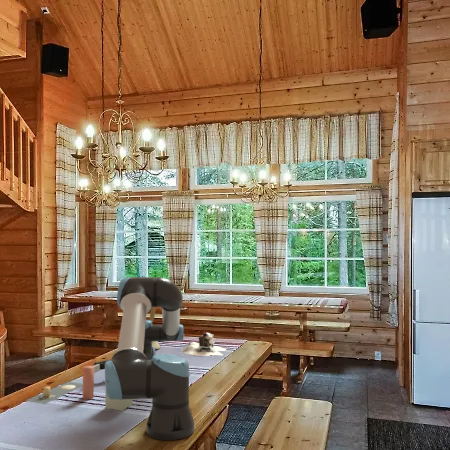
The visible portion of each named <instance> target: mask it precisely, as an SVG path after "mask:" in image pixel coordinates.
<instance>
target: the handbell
mask: <svg viewBox="0 0 450 450" xmlns="http://www.w3.org/2000/svg"><path fill="white" fill-rule="evenodd" d="M156 309H157V307H151V309H150V312H149V320H150V321H152V323H153V322H154V319H155V317H156V315H155V314H156ZM158 342H159V341H152V346H153V347H154V349H155V350H159V349H160V348H161V346H160V344H159V343H158Z"/></svg>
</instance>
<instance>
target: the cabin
mask: <svg viewBox="0 0 450 450" xmlns="http://www.w3.org/2000/svg"><path fill="white" fill-rule="evenodd" d="M205 329H206V330H204V329H202V330H203V331H202V335H201V336H199V337H198V342H195V341H192V342H189V343H188V344H187V345H186V346H185V348H183V349H181V350H180V352H182V353H183V354H186V355H189V356H197V357H198V356H199V357H211V356H210V355H212V356H224V354H223V353H221V351H223V352H224V351H227V349H226V348H224V347H221V346H218V345H214V344H215V343H216V342H215V341H214V336H215V335H214V334H212V333H211V332H210V331H208V330H207V329H208V328H205ZM207 331H208V332H207Z"/></svg>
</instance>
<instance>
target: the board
mask: <svg viewBox="0 0 450 450" xmlns="http://www.w3.org/2000/svg"><path fill="white" fill-rule="evenodd" d="M81 387H82V388H83V383H81V382H80V383H79V382H72V381H67V382H65V383H63V384H60V385H58V386H55V387H54V388H51V386H44V387H43V392H42V393H40V394H37V395H36V396H33V397H30V398H28V399H26V400H25V401H26V402H31V403H37V404H43V405H47V404H48V403H50V402H52V401H55V400H56V399H58V398H61V397H62V396H65V395H66V394H69V393H71V392H73V391H75V390H78V389H79V388H81Z"/></svg>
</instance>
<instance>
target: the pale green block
mask: <svg viewBox="0 0 450 450" xmlns="http://www.w3.org/2000/svg"><path fill="white" fill-rule="evenodd" d="M104 402H105V403H104V404H105V409H108V410H113V409H114V410H115V411H122V412H123V411H124V410H126V409H127V407H128V408H129V407H131V406H133V404H134V403H133V402H134V399H122V400H119V399H109V398H108V397H107V395H106V394H105V401H104Z"/></svg>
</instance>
